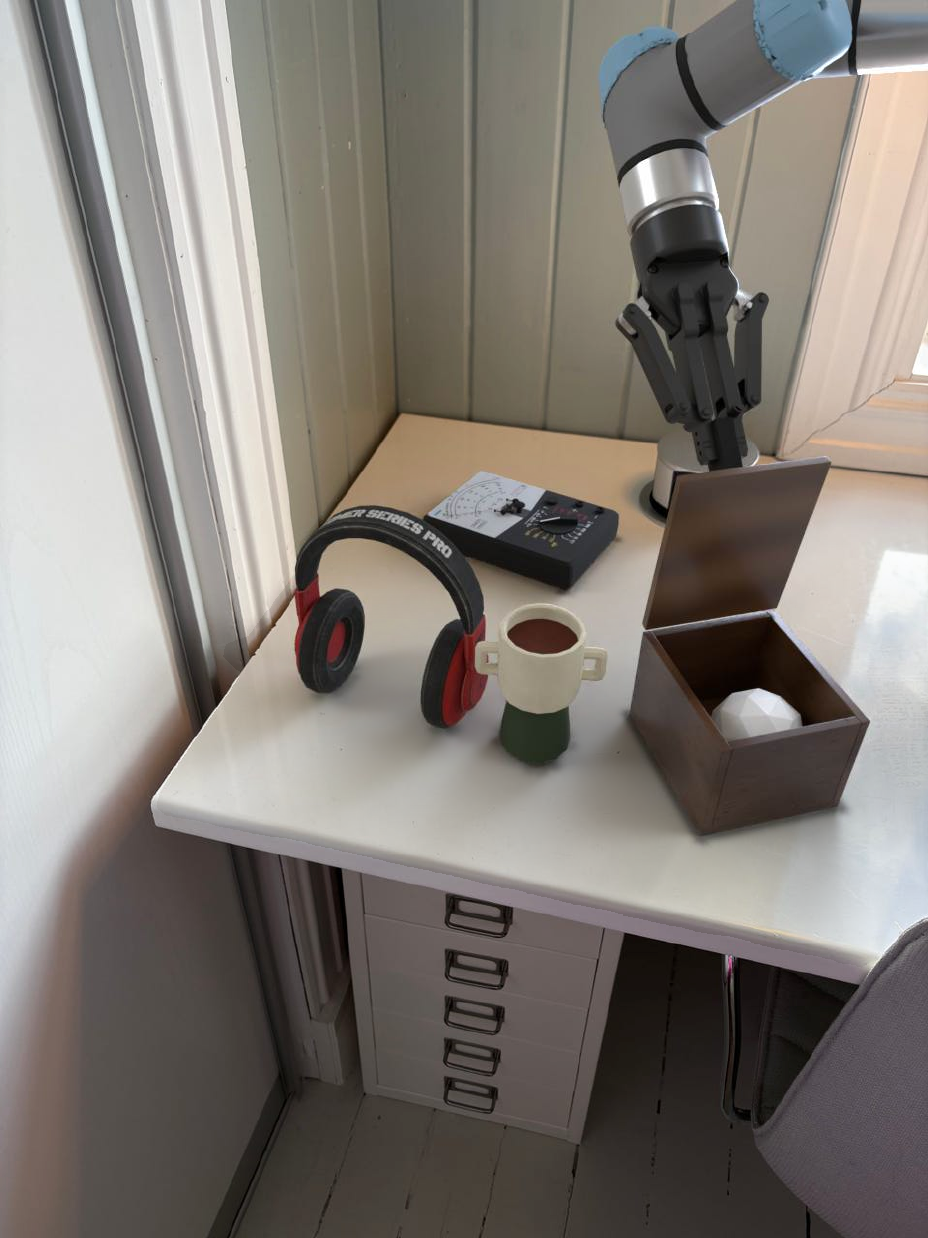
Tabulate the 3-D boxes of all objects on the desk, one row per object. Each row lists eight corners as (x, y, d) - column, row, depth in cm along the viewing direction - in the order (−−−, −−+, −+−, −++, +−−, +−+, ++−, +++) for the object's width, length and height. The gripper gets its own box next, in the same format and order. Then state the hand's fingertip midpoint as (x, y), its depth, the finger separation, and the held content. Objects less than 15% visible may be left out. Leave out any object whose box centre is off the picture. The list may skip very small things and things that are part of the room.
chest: (838, 806, 77) (871, 721, 71) (700, 836, 75) (722, 750, 69) (751, 691, 88) (773, 609, 82) (629, 714, 86) (642, 631, 80)
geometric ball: (726, 772, 83) (731, 682, 83) (816, 786, 78) (822, 691, 78) (688, 780, 77) (693, 684, 77) (783, 797, 72) (789, 694, 72)
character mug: (594, 719, 85) (608, 606, 77) (596, 776, 80) (613, 661, 72) (476, 711, 86) (478, 599, 78) (470, 768, 80) (472, 653, 72)
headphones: (498, 688, 88) (506, 507, 76) (459, 759, 81) (461, 571, 69) (335, 643, 94) (318, 467, 81) (284, 706, 86) (257, 522, 74)
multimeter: (569, 593, 101) (572, 555, 98) (421, 542, 108) (420, 505, 105) (618, 537, 110) (623, 501, 106) (478, 493, 117) (479, 458, 114)
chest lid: (832, 461, 71) (826, 455, 72) (681, 481, 68) (677, 475, 69) (777, 608, 82) (772, 602, 82) (645, 630, 79) (641, 623, 80)
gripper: (724, 244, 82) (781, 503, 79) (585, 254, 79) (639, 523, 76) (767, 194, 74) (831, 478, 72) (616, 203, 72) (676, 499, 69)
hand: (732, 500), depth 74 cm, fingers closed
